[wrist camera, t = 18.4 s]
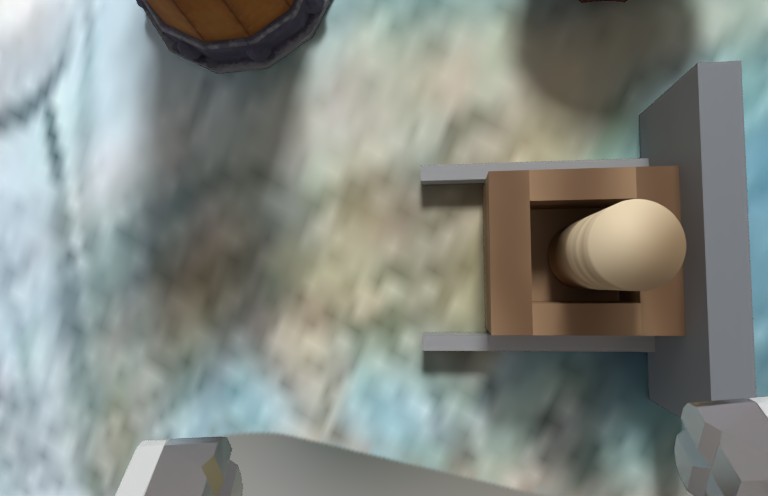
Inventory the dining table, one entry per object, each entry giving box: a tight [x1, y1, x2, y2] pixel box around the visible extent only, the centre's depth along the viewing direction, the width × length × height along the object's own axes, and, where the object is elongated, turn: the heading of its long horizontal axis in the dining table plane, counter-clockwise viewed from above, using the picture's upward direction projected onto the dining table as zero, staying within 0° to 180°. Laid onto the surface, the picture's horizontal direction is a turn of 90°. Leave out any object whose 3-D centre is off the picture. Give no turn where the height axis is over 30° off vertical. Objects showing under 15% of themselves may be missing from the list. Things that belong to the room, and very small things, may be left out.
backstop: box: [421, 61, 756, 418], centre depth 33 cm, size 16×18×9 cm
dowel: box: [548, 199, 686, 291], centre depth 30 cm, size 4×4×10 cm
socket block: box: [483, 166, 686, 336], centre depth 34 cm, size 10×9×6 cm
